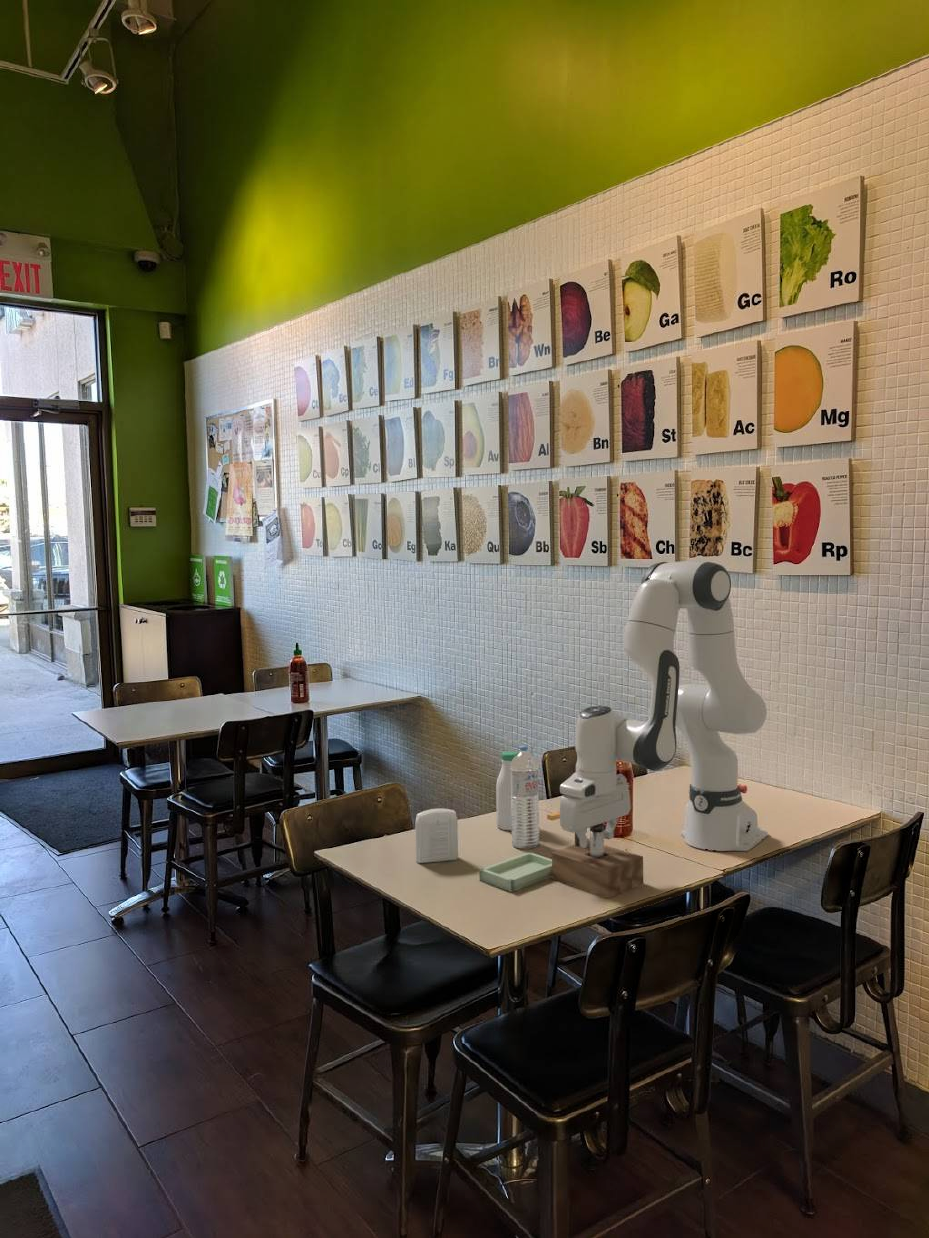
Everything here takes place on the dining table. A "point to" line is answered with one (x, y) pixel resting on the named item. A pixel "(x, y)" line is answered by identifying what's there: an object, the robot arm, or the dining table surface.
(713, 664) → the robot arm
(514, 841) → the water bottle
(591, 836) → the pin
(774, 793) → the dining table surface
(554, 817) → the bar
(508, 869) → the tray
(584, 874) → the block
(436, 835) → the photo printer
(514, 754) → the milk bottle
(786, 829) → the dining table surface
